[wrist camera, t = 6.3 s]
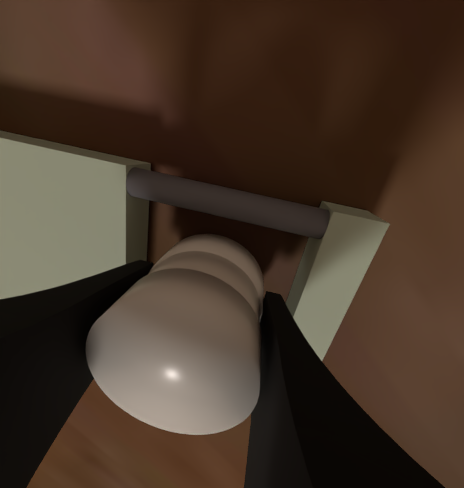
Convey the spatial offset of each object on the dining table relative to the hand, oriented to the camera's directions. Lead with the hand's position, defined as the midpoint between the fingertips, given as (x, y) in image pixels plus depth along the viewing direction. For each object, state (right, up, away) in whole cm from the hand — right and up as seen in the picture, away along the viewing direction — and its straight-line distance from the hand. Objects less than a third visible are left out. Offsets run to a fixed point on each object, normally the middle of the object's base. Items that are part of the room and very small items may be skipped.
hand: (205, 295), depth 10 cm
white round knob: (0, 0, +1) cm, 1 cm away
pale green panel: (-4, +1, +3) cm, 5 cm away
